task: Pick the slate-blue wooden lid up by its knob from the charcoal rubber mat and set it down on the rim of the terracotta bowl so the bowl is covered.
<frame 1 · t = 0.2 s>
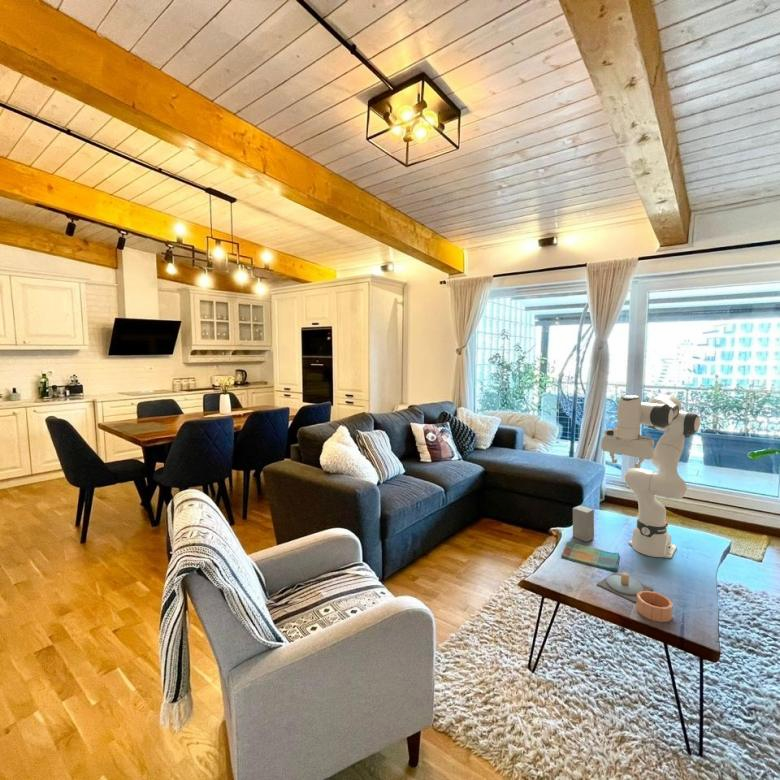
hand: (625, 465, 178), 47 cm above the table, fingers open, 8 cm apart
mat: (624, 587, 170), on the table
bowl: (653, 612, 154), on the table
skincare box: (582, 538, 214), on the table
lid: (624, 586, 170), point 1 cm above the table, touching mat
dish towel: (590, 558, 194), on the table
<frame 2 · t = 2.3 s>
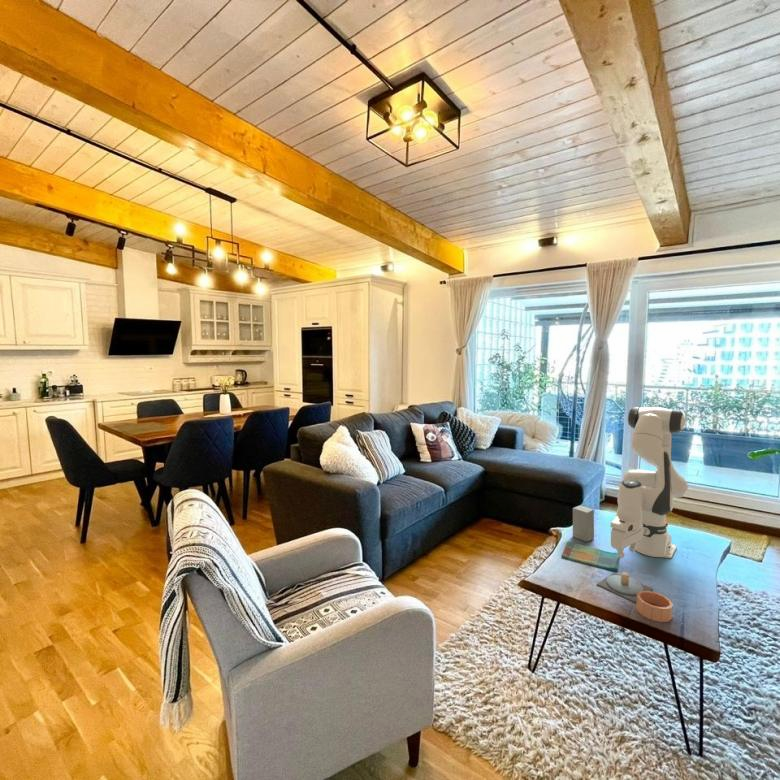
hand: (626, 554, 168), 14 cm above the table, fingers open, 8 cm apart
nothing on the table moved.
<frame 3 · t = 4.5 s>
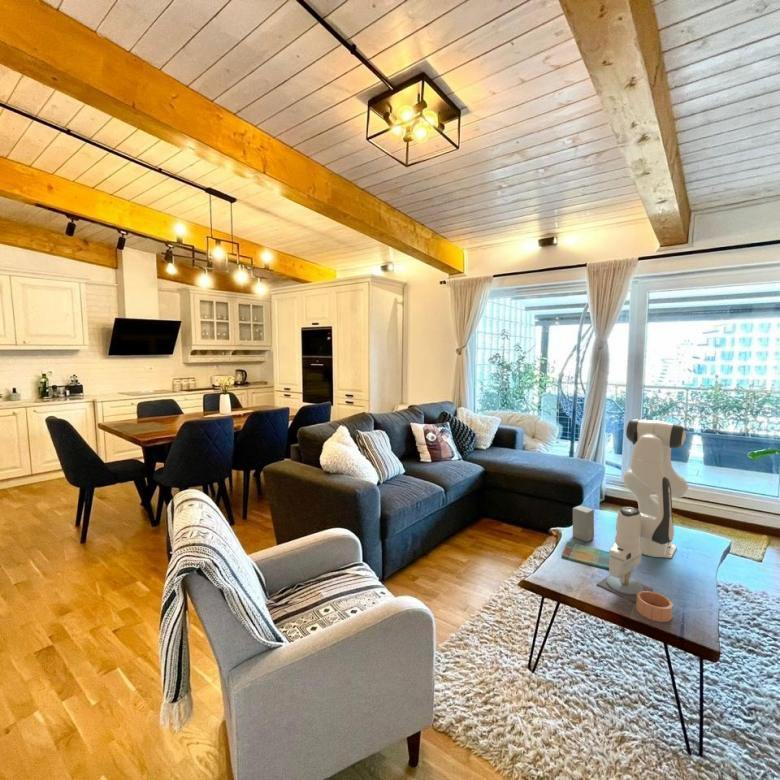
hand: (624, 580, 169), 3 cm above the table, fingers closed on lid, 3 cm apart
lid: (624, 586, 170), point 1 cm above the table, touching gripper, mat
everything else where it was.
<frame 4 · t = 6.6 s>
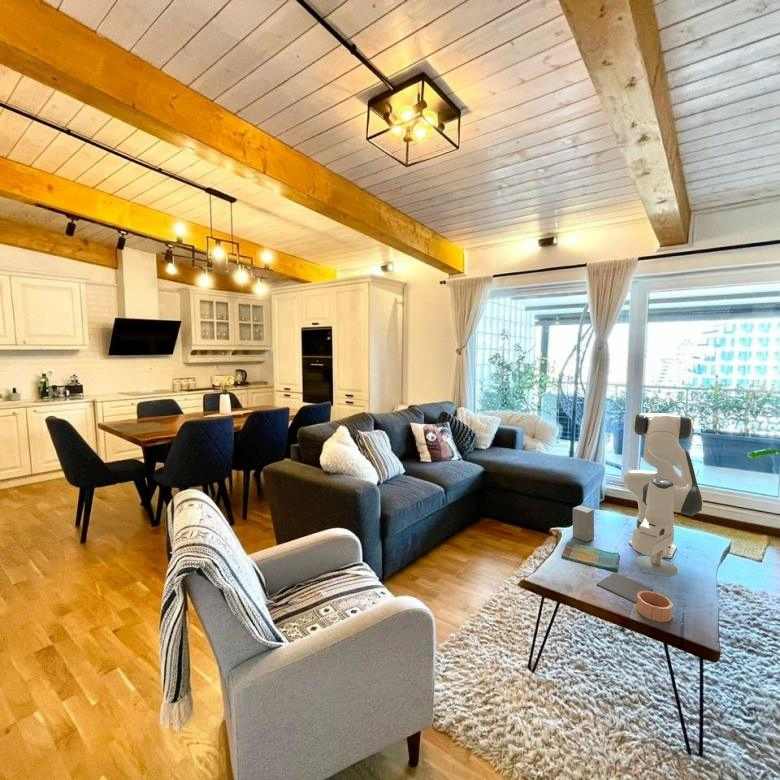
hand: (656, 560, 152), 20 cm above the table, fingers closed on lid, 3 cm apart
lid: (655, 567, 152), point 17 cm above the table, touching gripper
everything else where it was.
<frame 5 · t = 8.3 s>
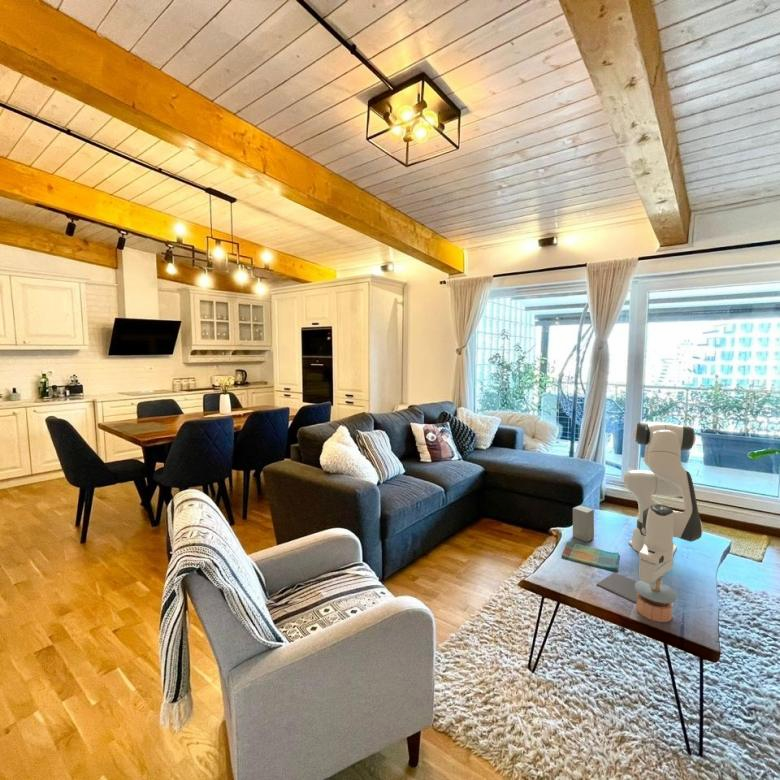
hand: (655, 586, 153), 10 cm above the table, fingers closed on lid, 3 cm apart
lid: (655, 592, 153), point 8 cm above the table, touching gripper
everything else where it was.
when the fingers open (9 cm above the table, at t = 9.2 s): lid drops 1 cm, resting on bowl.
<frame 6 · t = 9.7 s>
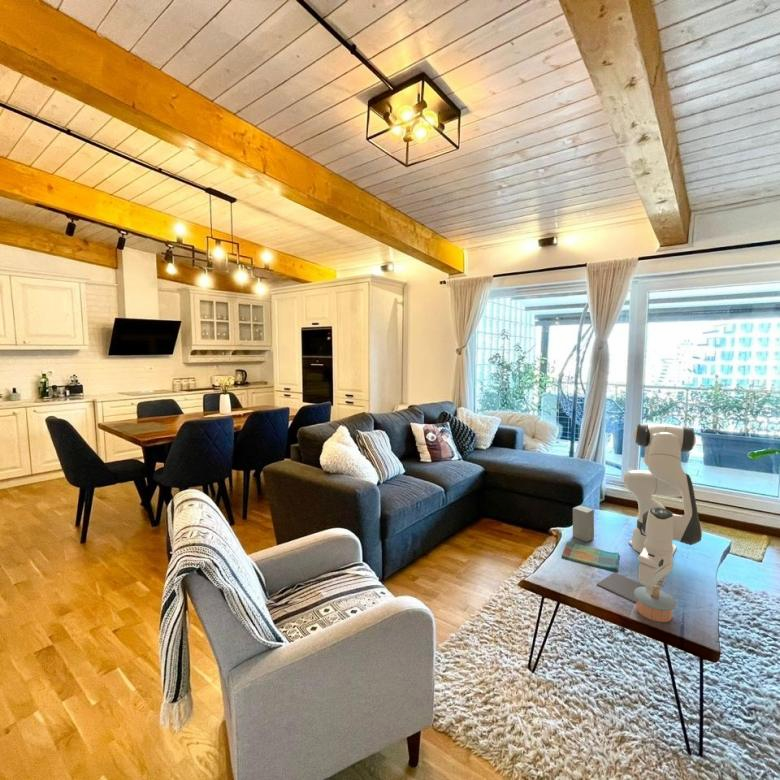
hand: (655, 589, 153), 9 cm above the table, fingers open, 8 cm apart
lid: (654, 599, 153), point 5 cm above the table, touching bowl
everything else where it was.
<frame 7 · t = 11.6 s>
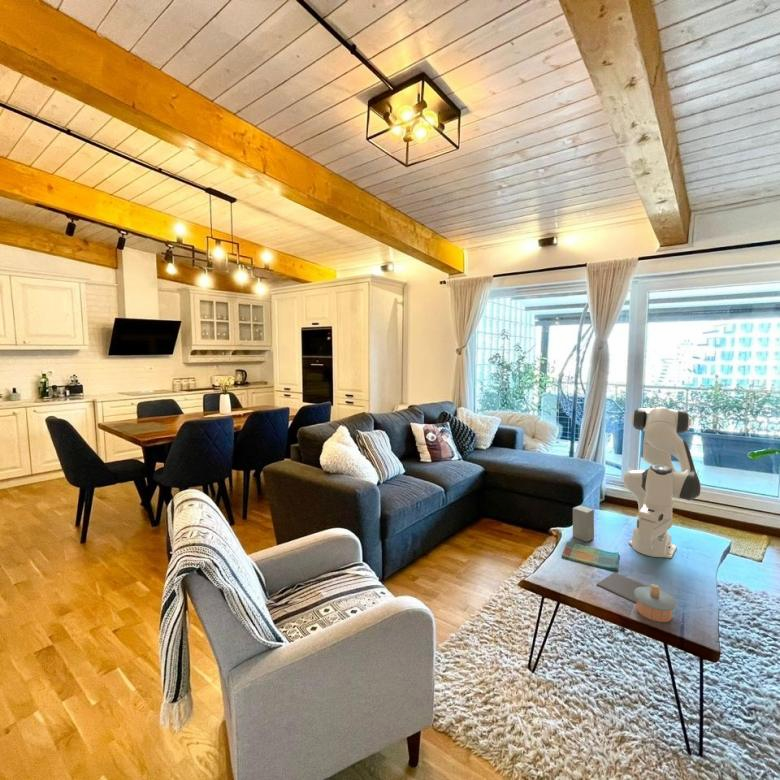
hand: (654, 544, 155), 24 cm above the table, fingers open, 8 cm apart
nothing on the table moved.
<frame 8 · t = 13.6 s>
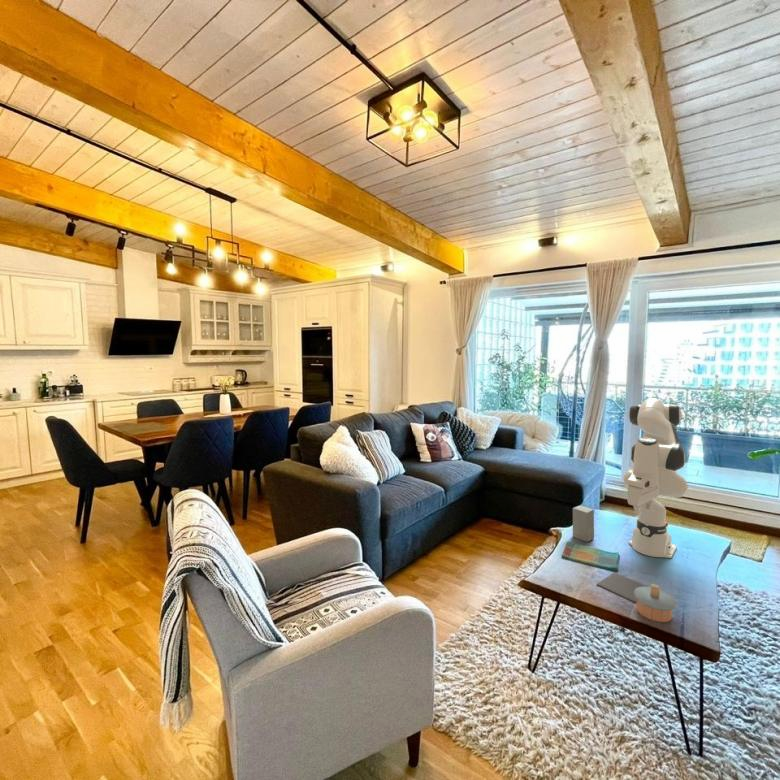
hand: (642, 511, 169), 31 cm above the table, fingers open, 8 cm apart
nothing on the table moved.
at the end: lid 0.1 cm off-centre on the bowl, point 5.0 cm above the bowl's base; lid tilted 0°; the gripper is holding nothing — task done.
